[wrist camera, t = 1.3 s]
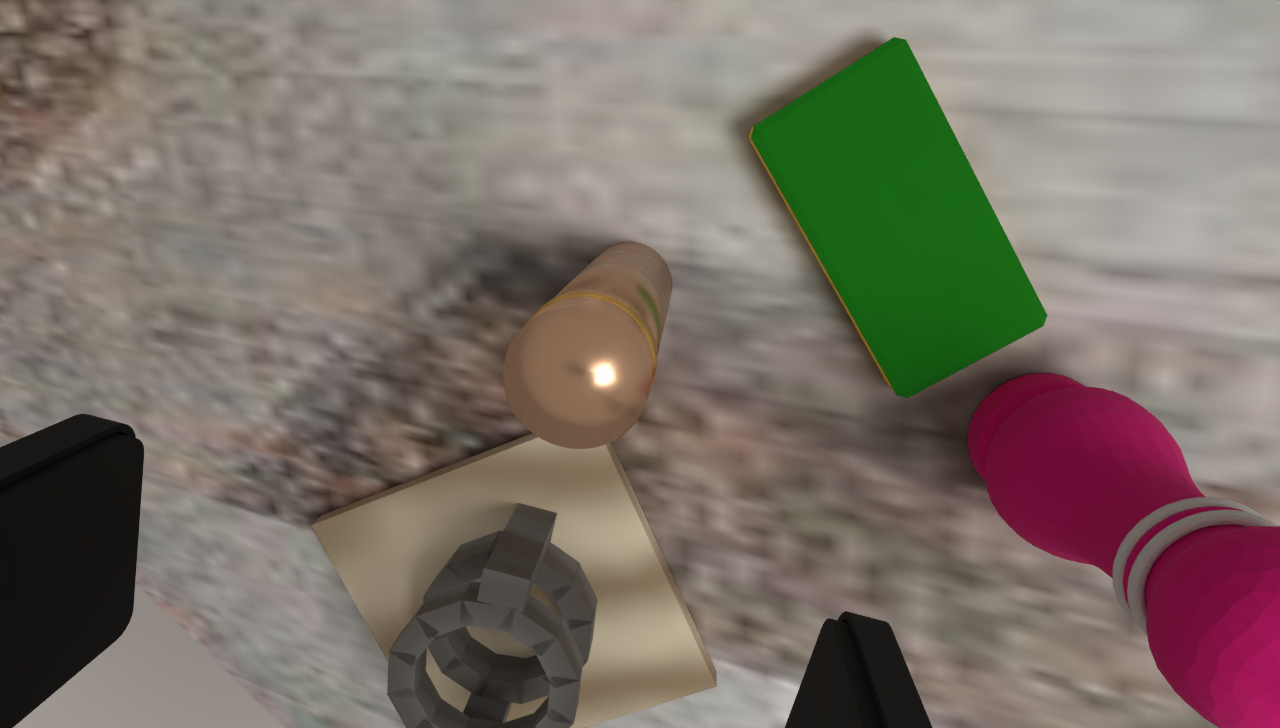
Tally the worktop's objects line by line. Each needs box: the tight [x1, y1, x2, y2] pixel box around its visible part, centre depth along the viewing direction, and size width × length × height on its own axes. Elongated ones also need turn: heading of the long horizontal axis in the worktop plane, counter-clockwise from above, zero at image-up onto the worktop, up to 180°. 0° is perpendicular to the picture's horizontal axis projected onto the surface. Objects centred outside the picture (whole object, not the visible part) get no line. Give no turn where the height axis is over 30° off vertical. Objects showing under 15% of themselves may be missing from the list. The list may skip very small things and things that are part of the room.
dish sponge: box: [749, 37, 1047, 398], centre depth 34 cm, size 7×14×2 cm, turn 32°
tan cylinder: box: [503, 242, 672, 449], centre depth 28 cm, size 4×4×16 cm
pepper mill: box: [967, 373, 1280, 728], centre depth 27 cm, size 7×7×20 cm
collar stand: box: [311, 433, 717, 728], centre depth 37 cm, size 16×16×8 cm
